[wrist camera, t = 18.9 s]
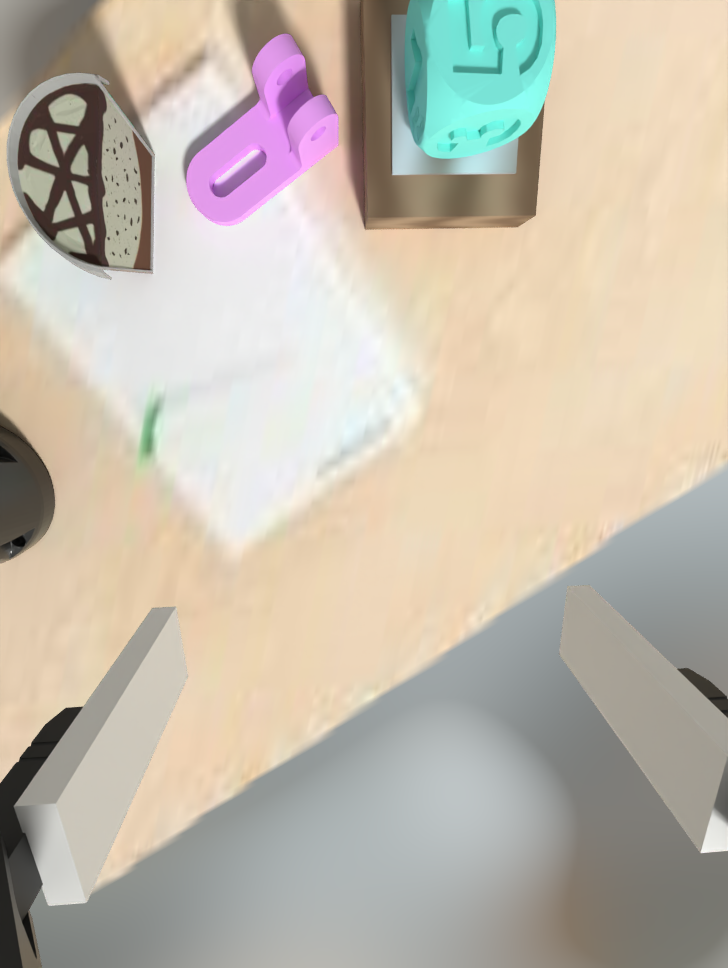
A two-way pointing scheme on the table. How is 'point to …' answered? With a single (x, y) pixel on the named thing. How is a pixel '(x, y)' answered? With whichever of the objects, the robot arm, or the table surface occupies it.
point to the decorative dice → (476, 71)
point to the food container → (84, 175)
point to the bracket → (266, 137)
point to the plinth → (417, 176)
